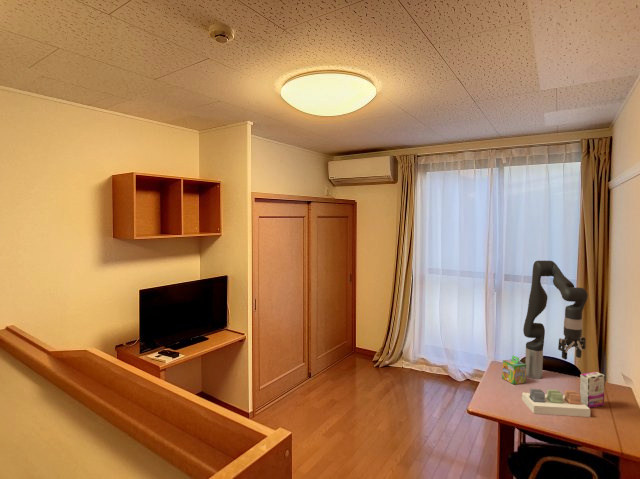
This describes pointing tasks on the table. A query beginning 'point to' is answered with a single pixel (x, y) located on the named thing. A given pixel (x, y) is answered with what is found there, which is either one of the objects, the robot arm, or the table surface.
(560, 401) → the sage block
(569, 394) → the terracotta block
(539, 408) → the board
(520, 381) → the chalk box
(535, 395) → the slate block
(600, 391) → the candy bar box
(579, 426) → the table surface
